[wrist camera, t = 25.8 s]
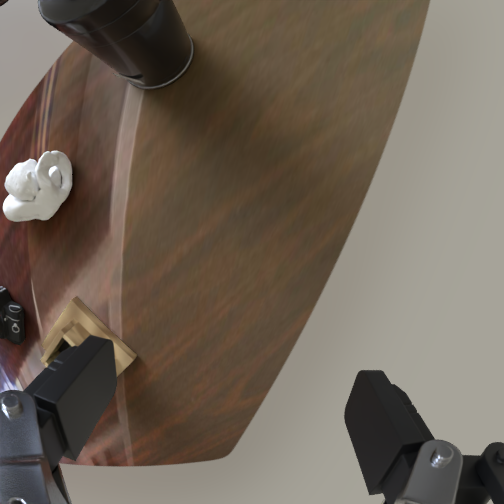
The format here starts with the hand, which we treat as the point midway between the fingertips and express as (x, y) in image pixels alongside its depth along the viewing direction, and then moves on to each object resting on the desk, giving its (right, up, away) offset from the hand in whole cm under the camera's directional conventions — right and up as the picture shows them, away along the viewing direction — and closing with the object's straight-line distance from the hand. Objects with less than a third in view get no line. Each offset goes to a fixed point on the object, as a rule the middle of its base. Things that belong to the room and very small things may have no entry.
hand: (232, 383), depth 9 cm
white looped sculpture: (-27, +12, +26) cm, 40 cm away
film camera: (-42, -5, +30) cm, 52 cm away
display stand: (-24, -10, +31) cm, 41 cm away
